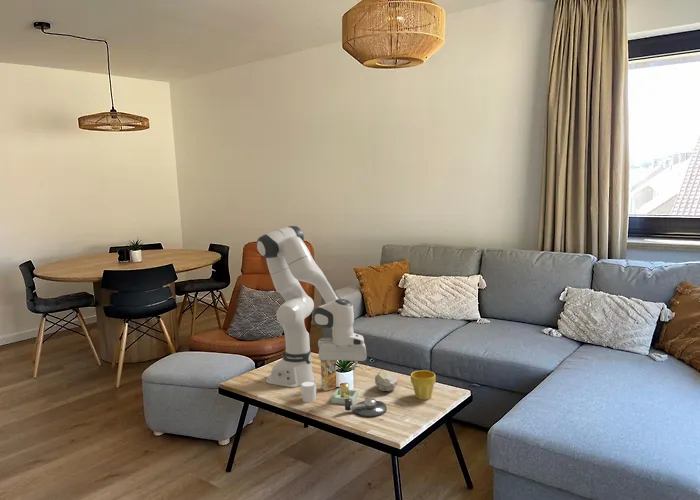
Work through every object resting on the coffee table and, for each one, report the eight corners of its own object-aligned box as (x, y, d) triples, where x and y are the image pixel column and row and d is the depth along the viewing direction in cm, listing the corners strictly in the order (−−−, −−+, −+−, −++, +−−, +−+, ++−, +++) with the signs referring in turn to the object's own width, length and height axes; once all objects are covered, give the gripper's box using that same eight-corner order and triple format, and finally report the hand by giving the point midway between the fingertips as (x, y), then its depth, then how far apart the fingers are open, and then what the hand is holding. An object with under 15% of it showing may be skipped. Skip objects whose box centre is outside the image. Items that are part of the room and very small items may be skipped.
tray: (331, 402, 219) (331, 397, 218) (337, 394, 227) (337, 388, 227) (352, 404, 216) (352, 399, 216) (358, 395, 225) (357, 390, 225)
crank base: (350, 415, 206) (350, 412, 206) (358, 401, 219) (358, 398, 218) (382, 418, 203) (382, 415, 203) (389, 404, 215) (389, 401, 215)
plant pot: (414, 390, 228) (414, 368, 227) (438, 393, 225) (437, 371, 223) (408, 399, 219) (407, 377, 218) (432, 402, 215) (432, 380, 214)
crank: (374, 403, 213) (374, 394, 212) (376, 408, 209) (376, 398, 208) (344, 407, 211) (343, 397, 210) (346, 412, 207) (345, 402, 206)
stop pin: (339, 399, 221) (338, 385, 220) (341, 396, 224) (341, 382, 223) (347, 400, 220) (347, 386, 219) (350, 396, 223) (349, 383, 222)
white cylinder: (317, 395, 226) (316, 380, 226) (316, 402, 220) (316, 386, 219) (301, 396, 226) (300, 381, 225) (300, 403, 219) (299, 387, 219)
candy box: (325, 391, 231) (324, 358, 229) (321, 388, 234) (319, 355, 232) (343, 387, 235) (341, 354, 233) (338, 384, 239) (337, 351, 237)
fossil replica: (394, 383, 238) (373, 387, 236) (392, 365, 237) (371, 369, 236) (401, 391, 226) (379, 396, 224) (399, 373, 225) (376, 377, 224)
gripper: (317, 340, 216) (317, 372, 218) (367, 341, 216) (366, 373, 218) (318, 335, 222) (317, 366, 224) (366, 336, 222) (365, 367, 224)
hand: (342, 369), depth 221 cm, fingers open, 8 cm apart
